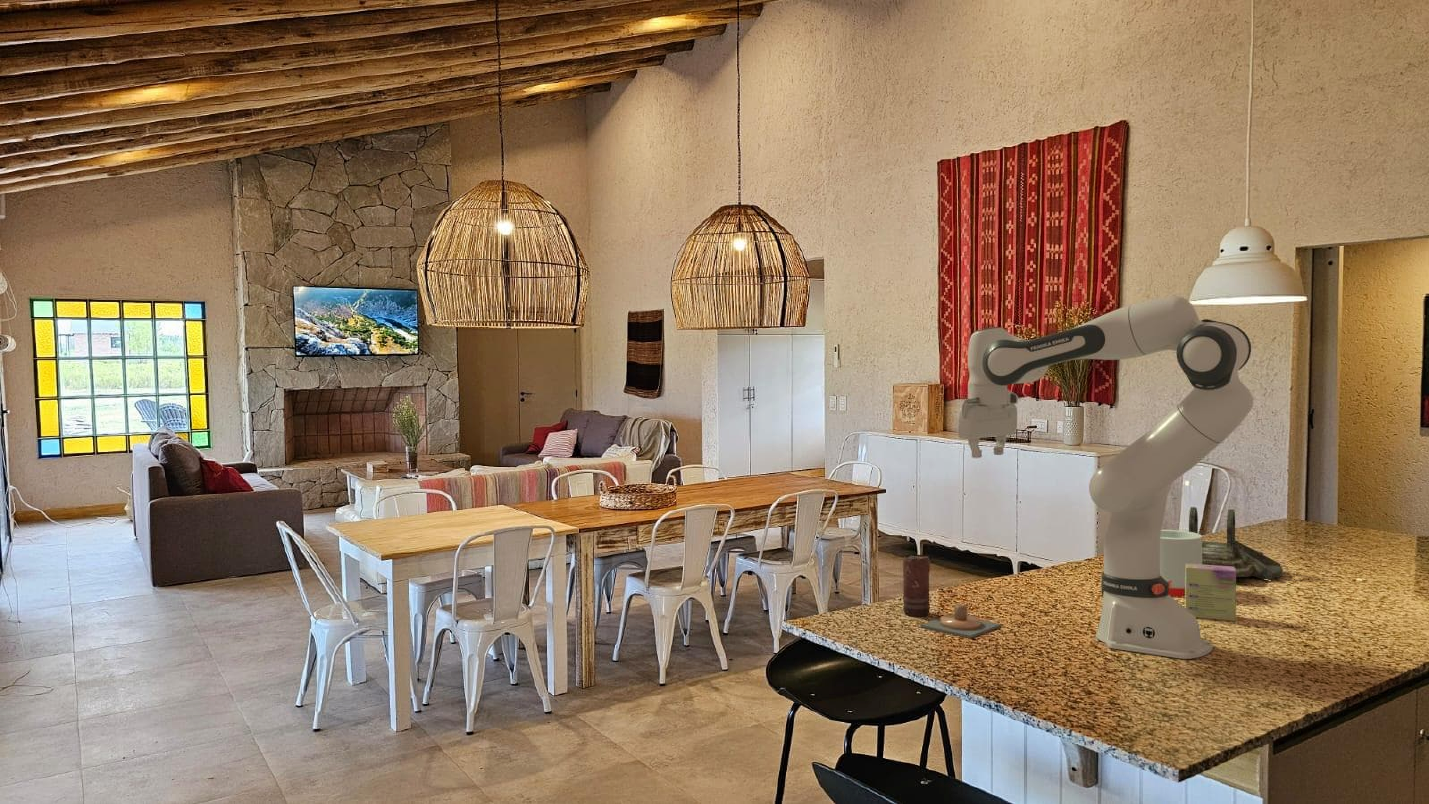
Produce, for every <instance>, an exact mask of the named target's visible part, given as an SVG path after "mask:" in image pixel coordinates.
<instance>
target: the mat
mask: <svg viewBox="0 0 1429 804" xmlns="http://www.w3.org/2000/svg"><path fill="white" fill-rule="evenodd" d="M919 626H920V628H922V629H926V630H930V631H935V632H939V633H943V634H944V633H945V634H949V635H952V636H953V635H954V636H958V637H963V638H967V639H973V638H975V637H977V636H981V635H984V634H986V633H988V632H992V631H994V630H996V629H998V628H1001V627H1002V623H998V622H995V621H994V622H993V621H989V620H988V621H987V620H984V619H981V627H980V628H977V629H971V630H958V629H951V628H947V627H944V626H942V625H941V617H940V618H937V619H933V620H930V621H927V622H925V623H922V624H920V625H919Z"/></svg>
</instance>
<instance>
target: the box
mask: <svg viewBox="0 0 1429 804" xmlns="http://www.w3.org/2000/svg"><path fill="white" fill-rule="evenodd" d="M1184 608H1185V609H1186V610H1188V611H1189V612H1190V613H1192V614H1193V615H1194V616H1195V617H1196V619H1197V618H1198V619H1209V620H1219V621H1227V622H1230V621H1231V622H1236V620H1237V577H1236V570H1235V567H1232V566H1217V565H1202V564H1189V563H1186V568H1185V597H1184Z"/></svg>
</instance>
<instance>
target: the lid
mask: <svg viewBox="0 0 1429 804" xmlns="http://www.w3.org/2000/svg"><path fill="white" fill-rule="evenodd" d="M953 611H954V613H952V614H946V615H943V616H940V618H941V625H942V626H944V627H947V628H951V629H958V630H971V629H977V628H980V627H981V620H982V619H981V618H980V617H979V616H975V615H971V614H968V606H967V605H965V604H955V605H954V609H953Z"/></svg>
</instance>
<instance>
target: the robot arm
mask: <svg viewBox="0 0 1429 804" xmlns="http://www.w3.org/2000/svg"><path fill="white" fill-rule="evenodd" d="M1249 338H1250V337H1249V336H1248V334H1247V333H1246V332H1245V331H1244V330H1242V329H1241V328H1240V327H1238V326H1236V325H1233V324H1230V323H1227V322H1222V321H1216V320H1211V319H1206V318H1204V319H1201V320H1200V318H1199V316H1198V313H1197V311H1196V308H1195V306H1193V304H1192V303H1191V302H1190V301H1189V300H1188V299H1186V298H1184V297H1182V296H1166V297H1159V298H1154V299H1148V300H1143V301H1139V302H1136V303H1132V304H1128V305H1126V306H1123V307H1119V308H1117V309H1115V310H1112V311H1110V312H1107V313H1104V314H1103V315H1100V316H1098V317H1096V318H1094V319H1092V320H1089V321H1087V322H1084V323H1082V324H1079V325H1077V326H1075V327H1073V328H1070V329H1066V330H1063V331H1060V332H1057V333H1052V334H1049V335H1045V336H1042V337H1037V338H1034V339H1029V340H1028V339H1024V338H1021V337H1019V336H1015V335H1013V334H1011V333H1010V332H1009V331H1007V330H1006V329H1004V328H1003V327H1000V326H992V327H987V328H981V329H978V330H975V331H974V332H973V333H972V334H971V336H970V338H969V341H968V347H967V348H968V349H967V350H968V351H967V368H968V371H969V377H968V378H969V379H968V382H967V398H965V400H963V403H962V404H961V408H959V409H960V410H959V412H958V413H959V414H958V421H957V435H958V437H959V439H963V440H968V446H969V448H970V450H971V458H973V459H981V458H982V457H983V455H982V453H983V450H981V448H980V445H979V444H980V442H981V441H980V439H983V438H984V439H985V438H986V439H987V438H992V437H994V438H995V440H996V442H995V447H993V455H995V456H1003V455H1004V448H1005V445H1006V442H1007V436H1010V435H1011V436H1012V435H1015V434H1016V431H1017V429H1018V408H1017V406H1016V405H1017V404H1018V402H1019V395H1017V394H1016V393H1015V392H1013V391H1011V390H1010V389H1008V386H1010V385H1014V384H1030V383H1034V382H1036V381H1039V380H1041V379H1042V378H1044V376H1045V375H1046V374H1047V372H1048V370H1049V368H1050V366H1053V365H1056V364H1059V363H1064V362H1068V361H1074V360H1105V361H1107V360H1108V361H1109V360H1110V361H1117V360H1127V359H1128V360H1129V359H1134V358H1140V357H1143V356H1148V355H1151V354H1155V353H1158V352H1163V351H1176V361H1177V363H1178V365H1179V366H1180V369H1181V370H1182V371H1183V373H1184V374H1185V376H1186V377H1187V379H1188V382H1189V383H1190V384H1191V386H1192V387H1193V389H1192V390H1191V391H1190V392H1189V393H1188V395H1187V396H1186V397H1185V398H1183V399H1182V400H1181V401H1180V402H1179V403H1178V404H1177V405H1175V406H1174V407H1173V408H1172V409H1171V410H1170V411H1169V412H1168V413H1167V414H1166V415H1165V416H1164V417H1162V418H1161V420H1160V421H1158V422H1157V423H1156V424H1155V425H1154V426H1152V428H1151V429H1149V430H1148V431H1147V432H1146V433H1144V434H1143V435H1142V436H1141V437H1139V438H1137V439H1136V440H1135V441H1133V442H1132V443H1131V444H1129V445H1128V446H1127V447H1126V448H1124V449H1123V450H1122V451H1120V452H1119V453H1118V454H1116V455H1115V456H1113V458H1112V459H1110V460H1109V461H1108V462H1107V463H1105V465H1103V466H1102V467H1100V468H1099V469H1097V471H1095V473H1093V475H1092V476H1091V478H1090V480H1089V485H1088V492H1089V493H1088V494H1089V496H1090V498H1091V501H1092V502H1093V503H1094V504H1095V505H1096V507H1098V508H1100V510H1103V511H1105V512H1109V513H1110V517H1109V522H1108V524H1107V525H1108V526H1107V528H1106V531H1105V533H1104V535H1103V571H1102V572H1101V581H1100V583H1101V584H1100V585H1101V586H1100V590H1101V597H1102V604H1101V605H1102V606H1101V613H1100V614H1101V615H1100V620H1099V624H1098V627H1097V630H1096V634H1095V637H1096V639H1098V640H1099V641H1101V642H1103V643H1105V644H1106V646H1107V647H1108V648H1110V649H1115V650H1120V651H1121V650H1122V651H1127V652H1136V653H1139V654H1140V653H1142V654H1147V655H1154V656H1163V657H1168V658H1174V659H1183V660H1188V659H1189V660H1191V659H1196V658H1197V659H1198V658H1201V657H1204V656H1206V655H1208V654H1210V653H1211V652H1212V651H1213V648H1214V647H1213V643H1212V642H1211V641H1210V640H1208V639H1204V638H1201V637H1202V636H1201V630H1200V625H1199V622H1198V619H1197V618H1196V617H1195V616H1194V615H1193V614H1192V613H1190V612H1189V611H1188V610H1186V609H1185V606H1183V605H1182V604H1181V603H1179V602H1178V601H1177V600H1176V599H1175V598H1174V597H1171V596H1170V595H1169V586H1171V585H1170V583H1171V582H1172V581H1171V580H1170V581H1168V582H1167V581H1166V580H1165V579H1163V578H1162V577H1161V576H1160V536H1161V530H1163V529H1162V528H1163V523H1164V518H1165V513H1166V506H1167V499H1168V495H1169V493H1170V491H1171V489H1172V484H1173V482H1174V481H1176V480H1177V479H1179V478H1180V477H1181V476H1182V475H1184V474H1185V473H1187V472H1188V471H1190V470H1192V469H1193V468H1194V467H1196V465H1197V464H1198V463H1200V462H1201V461H1202V460H1203V459H1204V458H1205V457H1206V456H1208V455H1209V454H1210V453H1212V451H1213V450H1215V449H1216V448H1217V447H1219V445H1220V444H1221V443H1223V442H1224V441H1225V440H1226V439H1227V438H1228V437H1229V436H1230V435H1231V434H1232V433H1233V432H1234V431H1235V430H1236V429H1237V428H1238V427H1239V426H1240V425H1241V424H1242V423H1243V421H1245V419H1246V418H1247V416H1248V415H1249V413H1250V412H1251V410H1252V409H1253V406H1254V398H1253V397H1254V396H1253V394H1252V392H1251V391H1250V389H1249V388H1248V387H1247V386H1246V385H1245V383H1243V382H1242V381H1241V379H1240V377H1239V372H1238V371H1240V370H1241V369H1243V367H1245V365H1246V364H1247V363H1248V361H1249V360H1250V357H1251V355H1252V354H1251V353H1252V344H1251V341H1250V339H1249Z"/></svg>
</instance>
